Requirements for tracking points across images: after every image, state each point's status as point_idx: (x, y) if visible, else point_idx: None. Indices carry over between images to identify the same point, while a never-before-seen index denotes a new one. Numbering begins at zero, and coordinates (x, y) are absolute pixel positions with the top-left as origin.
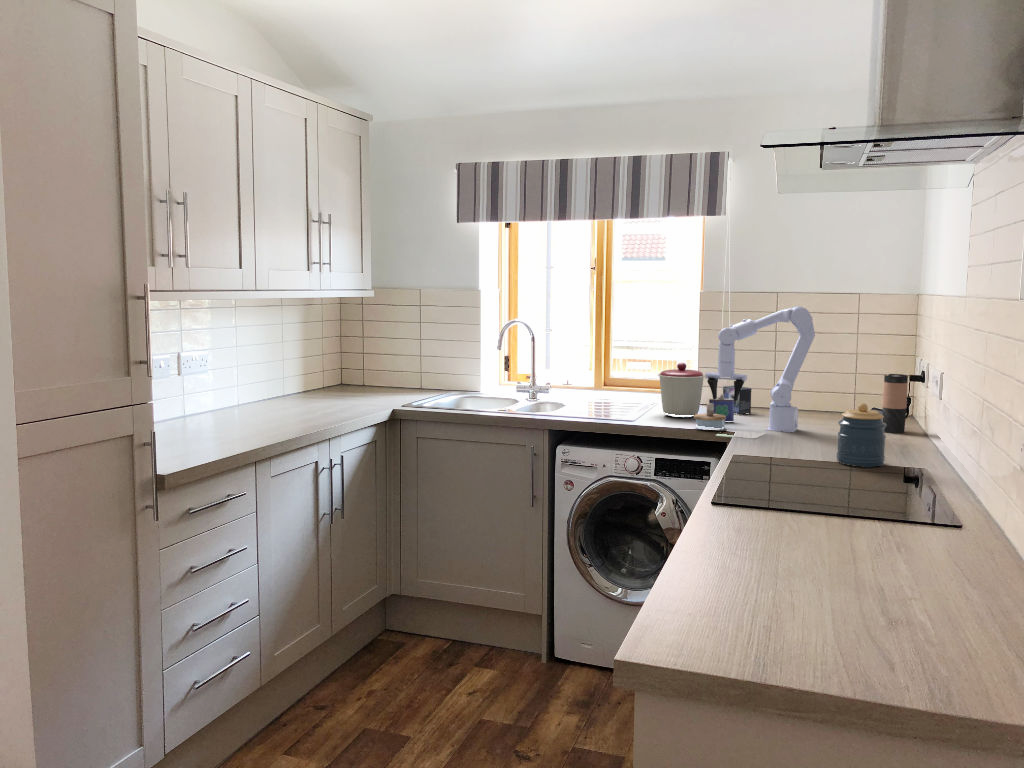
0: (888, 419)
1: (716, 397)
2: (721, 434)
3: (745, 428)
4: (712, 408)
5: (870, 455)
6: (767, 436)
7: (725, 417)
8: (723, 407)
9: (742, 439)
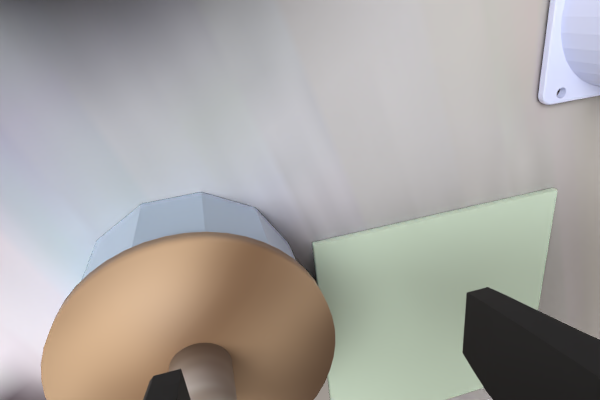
0: None
1: (182, 388)
2: (353, 397)
3: (392, 91)
4: None
5: None
6: (561, 259)
7: (332, 319)
8: None
9: (468, 397)
